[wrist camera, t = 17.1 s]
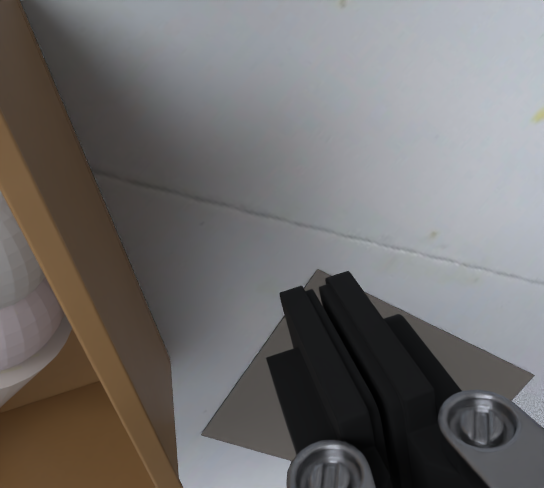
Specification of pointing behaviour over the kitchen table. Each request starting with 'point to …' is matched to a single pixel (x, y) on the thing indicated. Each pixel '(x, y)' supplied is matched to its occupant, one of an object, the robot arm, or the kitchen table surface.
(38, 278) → the ice cream cone
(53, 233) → the flap
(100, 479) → the carton
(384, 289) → the kitchen table surface
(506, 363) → the platform
